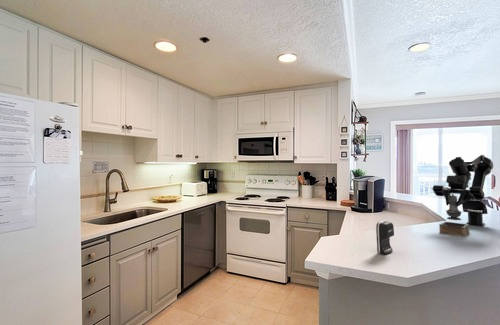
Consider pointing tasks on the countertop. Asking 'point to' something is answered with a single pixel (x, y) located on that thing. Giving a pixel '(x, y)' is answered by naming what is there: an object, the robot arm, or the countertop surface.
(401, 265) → the countertop surface
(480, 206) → the robot arm
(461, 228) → the holder
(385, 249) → the coffee maker
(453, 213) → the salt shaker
